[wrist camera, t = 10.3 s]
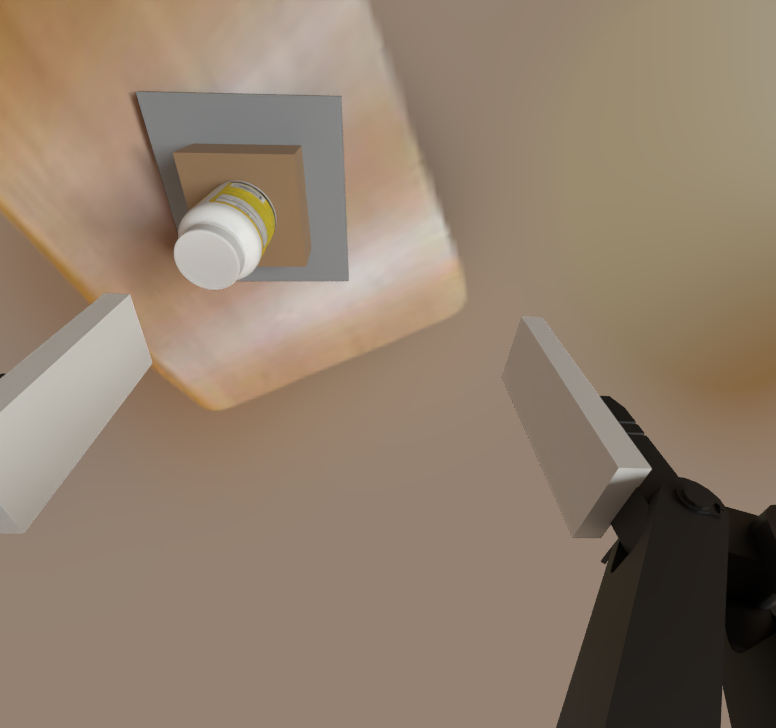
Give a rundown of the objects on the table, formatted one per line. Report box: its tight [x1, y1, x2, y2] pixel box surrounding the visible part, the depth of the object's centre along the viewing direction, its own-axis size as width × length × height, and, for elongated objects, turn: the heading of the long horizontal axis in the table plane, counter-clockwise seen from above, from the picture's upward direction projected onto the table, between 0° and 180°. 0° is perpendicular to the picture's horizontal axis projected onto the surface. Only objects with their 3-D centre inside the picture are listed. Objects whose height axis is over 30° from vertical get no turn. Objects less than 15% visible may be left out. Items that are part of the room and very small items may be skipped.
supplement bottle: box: [174, 181, 276, 290], centre depth 28 cm, size 5×5×10 cm
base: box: [136, 91, 349, 281], centre depth 34 cm, size 16×16×6 cm
